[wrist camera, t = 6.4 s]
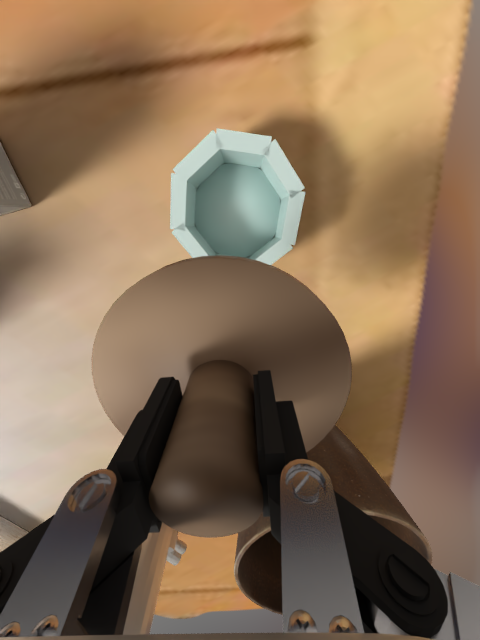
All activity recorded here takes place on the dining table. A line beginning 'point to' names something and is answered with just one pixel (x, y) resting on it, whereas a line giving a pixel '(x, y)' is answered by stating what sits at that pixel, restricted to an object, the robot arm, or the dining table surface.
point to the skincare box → (10, 187)
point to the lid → (219, 378)
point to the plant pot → (348, 481)
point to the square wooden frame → (9, 533)
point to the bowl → (236, 198)
